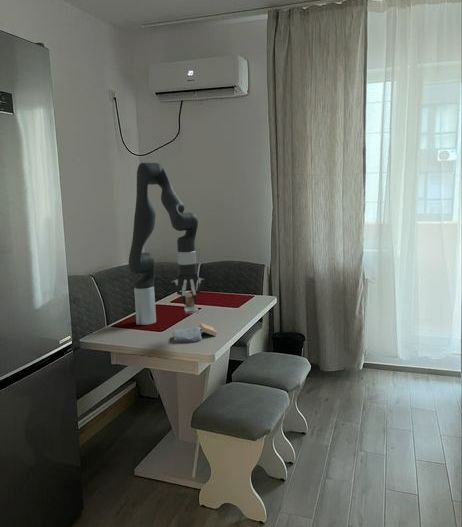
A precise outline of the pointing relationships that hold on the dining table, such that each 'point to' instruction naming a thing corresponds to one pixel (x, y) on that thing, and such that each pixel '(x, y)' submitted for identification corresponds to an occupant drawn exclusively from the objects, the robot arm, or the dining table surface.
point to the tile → (207, 329)
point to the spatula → (190, 304)
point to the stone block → (187, 335)
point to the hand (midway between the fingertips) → (189, 303)
